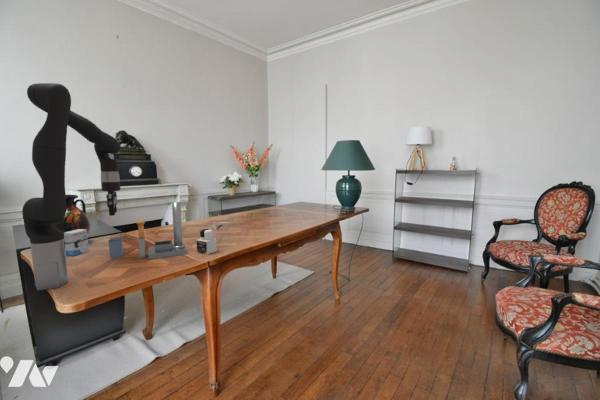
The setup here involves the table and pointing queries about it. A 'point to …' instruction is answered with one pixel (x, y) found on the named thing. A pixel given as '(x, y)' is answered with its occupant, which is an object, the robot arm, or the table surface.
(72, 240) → the ink box
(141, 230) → the wedge pin
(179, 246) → the grey base with post
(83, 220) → the amphora vase
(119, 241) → the blue-grey rectangular block
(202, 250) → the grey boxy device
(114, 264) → the table surface
